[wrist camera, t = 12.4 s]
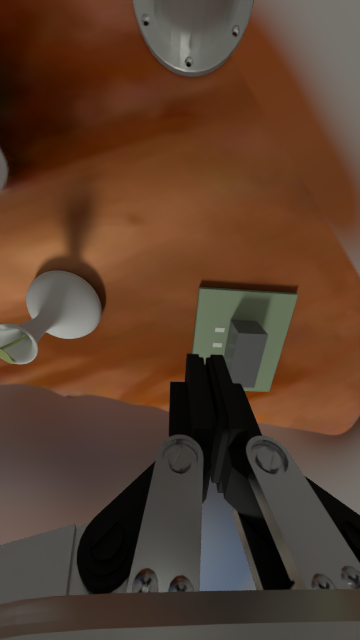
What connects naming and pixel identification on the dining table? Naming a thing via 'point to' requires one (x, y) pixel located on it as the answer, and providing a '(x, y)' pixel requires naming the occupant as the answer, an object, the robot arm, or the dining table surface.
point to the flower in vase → (51, 315)
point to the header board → (243, 305)
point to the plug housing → (244, 351)
